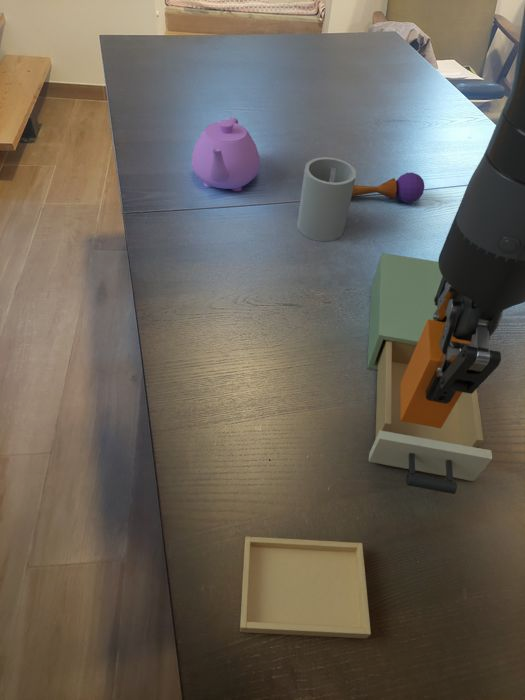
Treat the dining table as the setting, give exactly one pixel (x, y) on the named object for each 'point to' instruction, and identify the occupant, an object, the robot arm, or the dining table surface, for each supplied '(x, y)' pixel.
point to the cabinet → (401, 301)
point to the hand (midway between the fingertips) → (435, 374)
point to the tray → (304, 588)
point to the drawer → (425, 431)
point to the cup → (325, 199)
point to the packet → (425, 380)
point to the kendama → (396, 188)
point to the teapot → (225, 156)
